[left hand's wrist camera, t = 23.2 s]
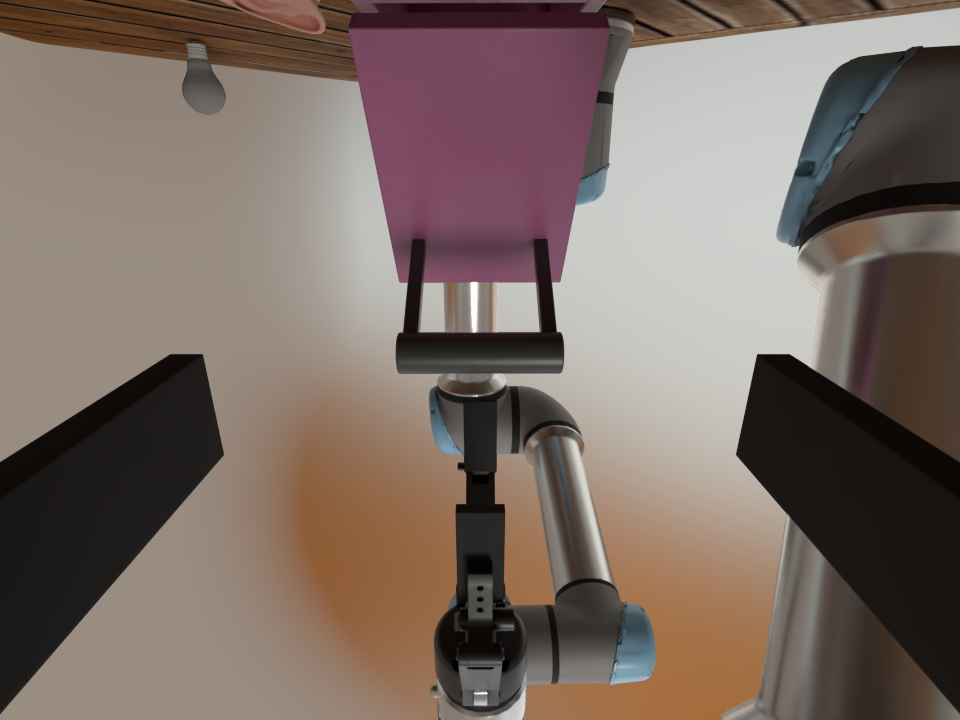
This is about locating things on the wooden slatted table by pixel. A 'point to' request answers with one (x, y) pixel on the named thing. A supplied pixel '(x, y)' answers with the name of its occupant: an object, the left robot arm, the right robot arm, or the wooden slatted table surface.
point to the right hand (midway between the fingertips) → (480, 443)
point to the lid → (479, 163)
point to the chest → (476, 6)
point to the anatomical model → (285, 13)
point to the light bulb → (202, 82)
